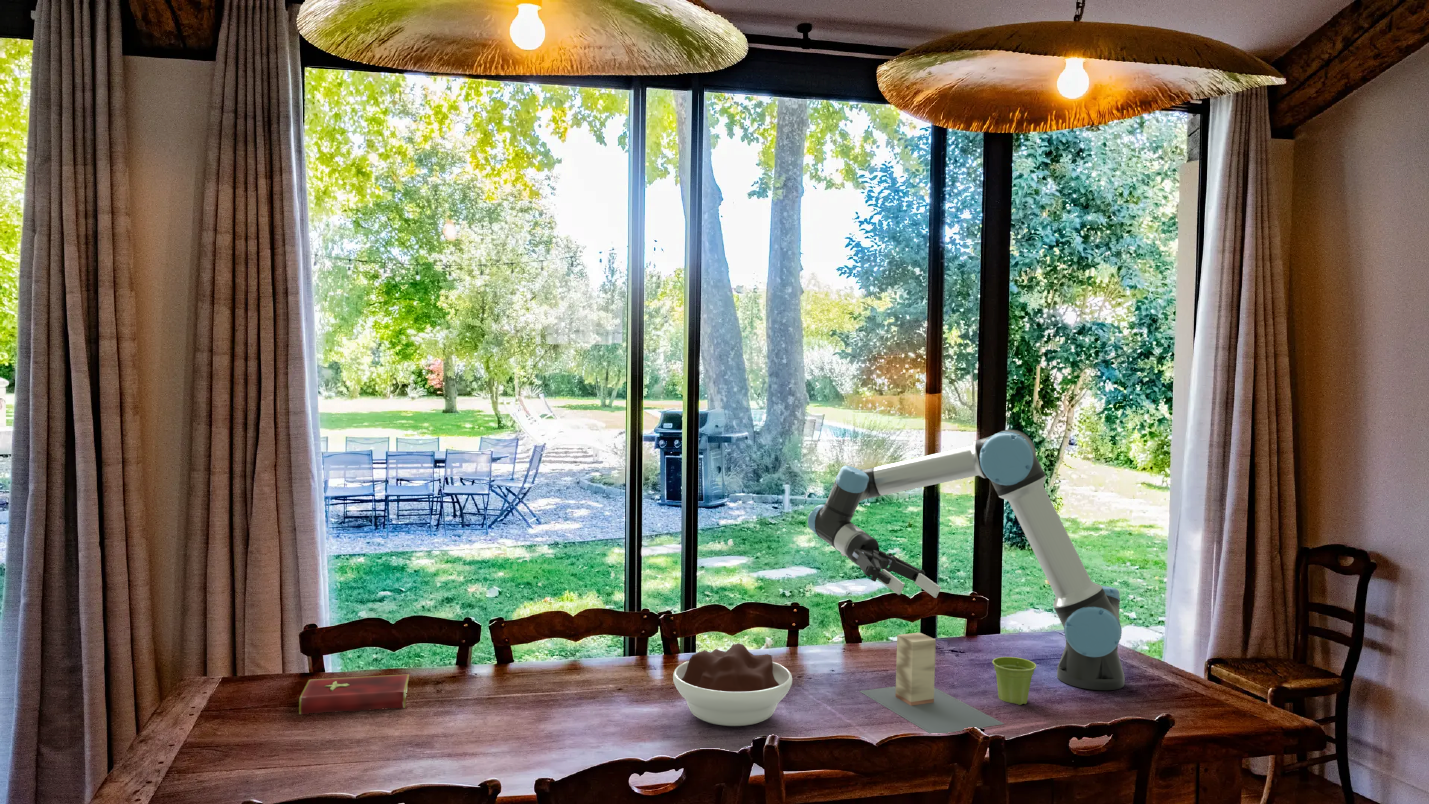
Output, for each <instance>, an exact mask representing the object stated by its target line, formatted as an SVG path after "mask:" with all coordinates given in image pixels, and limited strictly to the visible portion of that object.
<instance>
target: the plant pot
mask: <svg viewBox="0 0 1429 804" xmlns="http://www.w3.org/2000/svg"><path fill="white" fill-rule="evenodd" d="M991 662H992V664H993V666H994V671H995V674H996V675H995V676H996V684H997V695H998V696H997V697H998V699H999V700H1001V701H1002V702H1006V703H1010V704H1016V705H1019V706H1022V705H1023V704H1024V705H1026V704H1027V703H1028V699H1029V693H1030V688H1031V682H1032V677H1033V675H1034V672H1035V670H1036V669H1037V664H1036V663H1035V662H1033V661H1031V660H1029V659H1025V658H1021V657H1014V656H1012V657H1011V656H999V657H995V658H994V659H992V661H991Z"/></svg>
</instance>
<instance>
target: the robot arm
mask: <svg viewBox="0 0 1429 804" xmlns="http://www.w3.org/2000/svg"><path fill="white" fill-rule="evenodd" d="M976 476H978V477H980V478H983V479H989V480H990V481H991V484H992V486H993V488H994V490H995V493H996V494H997V496H998V498H999V499H1003V500H1006V501H1007V502H1008V503H1009V506H1010V507H1011V509H1012V511H1013V513H1014V515H1015V517H1016V519H1017V522H1018V523H1019V526H1020V527H1021V529H1022V532H1023V533H1024V535H1025V537H1026V539H1027V542H1028V544H1029V546H1030V547H1031V549H1032V551H1033V554H1034V555H1035V558H1036V559H1037V561H1038V563H1039V565H1040V568H1041V570H1042V571H1043V573H1044V575H1045V578H1046V579H1047V582H1048V583H1049V585H1050V587H1051V589H1052V591H1053V594H1054V595H1055V598H1054V600H1053V604H1052V606H1053V608H1054V611H1055V613H1056V614H1057V617H1058V619H1059V621H1060V623H1061V625H1062V627H1063V633H1064V637H1065V647H1064V650H1063V652H1062V654H1061V656H1060V660H1059V662H1058V664H1057V667H1056V668H1057V669H1056V677H1057V679H1058V680H1059V681H1061V682H1062V683H1065V684H1068V685H1069V686H1071V687H1072V686H1073V687H1077V688H1081V689H1086V690H1094V691H1112V690H1113V691H1114V690H1119V689H1122V688H1123V687H1124V686H1125V673H1124V669H1123V666H1122V662H1121V659H1120V655H1119V651H1118V650H1119V649H1118V646H1119V643H1120V640H1121V639H1122V634H1123V633H1122V632H1123V631H1122V625H1121V619H1120V603H1121V598H1120V597H1121V596H1120V591H1119V589H1118V588H1116V587H1113V586H1112V587H1111V586H1106V585H1101V584H1099V583H1095V582H1093V580H1091V577H1090V575H1089V574H1088V572H1087V570H1086V567H1085V566H1084V564H1083V562H1082V560H1081V557H1080V555H1079V553H1078V551H1077V549H1076V547H1075V545H1074V544H1073V541H1072V540H1071V538H1070V536H1069V534H1068V532H1067V530H1066V528H1065V525H1064V524H1063V522H1062V520H1061V518H1060V516H1059V514H1058V512H1057V510H1056V509H1055V506H1054V504H1053V502H1052V501H1051V498H1050V496H1049V494H1048V492H1047V491H1046V489H1045V487H1044V486H1045V485H1044V484H1045V481H1046V478H1047V475H1046V472H1045V471H1044V469H1043V467H1042V465H1041V463H1040V462H1039V460H1038V457H1037V451H1036V446H1035V444H1034V442H1033V441H1032V440H1031V438H1030V437H1029V436H1028V435H1027V434H1025V433H1024V432H1022V431H1020V430H1016V429H1005V430H1001V431H999V432H997V433H994V434H993V435H990V436H987V437H983V438H979V439H976V440H974V441H973V442H972V444H971V445H967V446H962V447H959V448H954V449H950V450H945V451H942V452H941V451H940V452H936V453H931V454H928V455H923V456H919V457H914V458H910V459H906V460H905V459H904V460H900V461H896V462H892V463H887V464H882V465H879V466H875V467H868V468H865V469H862V468H861V469H859V468H857V467H854V466H851V465H843V466H842V467H841V468H840V469H839V472H838V474H837V475H836V477H835V480H834V483H833V485H832V487H831V490H830V492H829V494H828V497H827V499H826V501H825V503H824V504H818V505H816V506H814V508H813V510H811V511H810V512H809V514H808V517H807V526H808V528H809V529H810V530H811V531H812V532H813V533H814V534H815V535H816V537H818V538H819V539H821V540H822V541H824V542H826V543H827V544H828V545H830V546H831V547H833V548H834V549H835V550H837V551H838V552H840V555H841V556H842V557H846V558H848V560H850V561H851V562H852V563H854V564H855V565H856V566H858V567H859V568H860V569H861V571H862V572H863V574H864V575H865V577H870V581H872V582H874V583H875V582H876V581H877V580H878V581H879V582H880V583H882V585H884V586H886V587H887V588H888V589H890V590H891V591H893V592H894V593H895V594H897V595H898V596H900V595H901V594H902V591H903V589H904V587H905V585H906V583H904V582H903V581H902V580H900V579H899V578H898V577H897V576H894V575H893V573H895V574H897V575H899V576H902V577H904V578H906V579H907V580H910V581H913V582H914V585H916V586H918V587H919V588H920V589H922V590H923V591H925V592H926V593H927V594H929V595H931V596H932V597H933V598H935V599H937V597H938V595H939V593H940V591H941V589H942V587H941V586H940V585H939V584H937V583H936V582H935V581H933V580H931V579H930V578H929V577H927V576H926V572H925V570H924V569H922V568H921V569H920V568H917V567H916V566H915V565H912V564H910V563H908V562H906V561H904V560H902V559H901V558H899V557H897V556H895V555H894V554H892V553H891V552H890V553H889V552H888V553H886V552H885V551H883V550H880V545H879V542H878V540H877V539H876V538H874V537H872V536H871V535H870V534H868V533H867V532H866V531H864V530H863V529H861V528H860V527H858V525H856V524H854V523H853V522H851V521H852V519H853V517H854V514H855V512H856V510H857V508H858V506H859V505H860V504H859V503H861V502H863V501H865V500H868V499H872V498H877V497H881V496H885V495H891V494H896V493H900V492H904V491H909V490H915V489H919V488H924V487H929V486H933V485H938V484H943V483H948V482H952V481H957V480H961V479H962V480H963V479H967V478H972V477H976ZM891 572H893V573H891Z"/></svg>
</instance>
